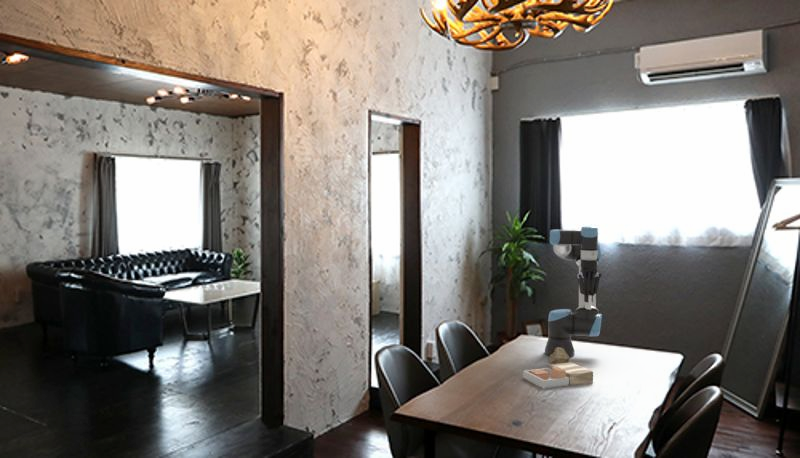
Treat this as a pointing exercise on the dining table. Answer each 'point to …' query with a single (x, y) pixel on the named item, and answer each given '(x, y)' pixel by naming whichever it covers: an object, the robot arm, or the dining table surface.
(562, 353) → the rock
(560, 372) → the tile
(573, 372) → the board
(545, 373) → the tile
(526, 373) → the box
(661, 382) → the dining table surface
